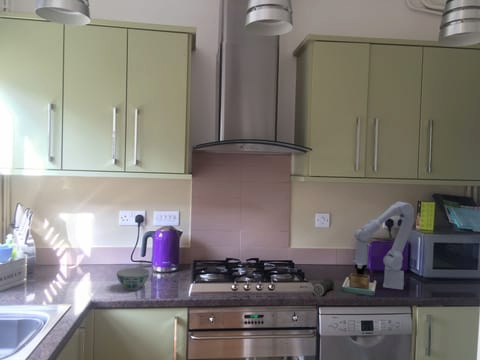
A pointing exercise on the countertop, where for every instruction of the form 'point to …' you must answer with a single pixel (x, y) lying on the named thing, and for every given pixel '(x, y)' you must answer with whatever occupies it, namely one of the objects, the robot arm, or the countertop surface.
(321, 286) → the flashlight
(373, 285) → the tray
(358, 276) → the crate
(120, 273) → the chinaware
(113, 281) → the countertop surface
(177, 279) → the countertop surface
